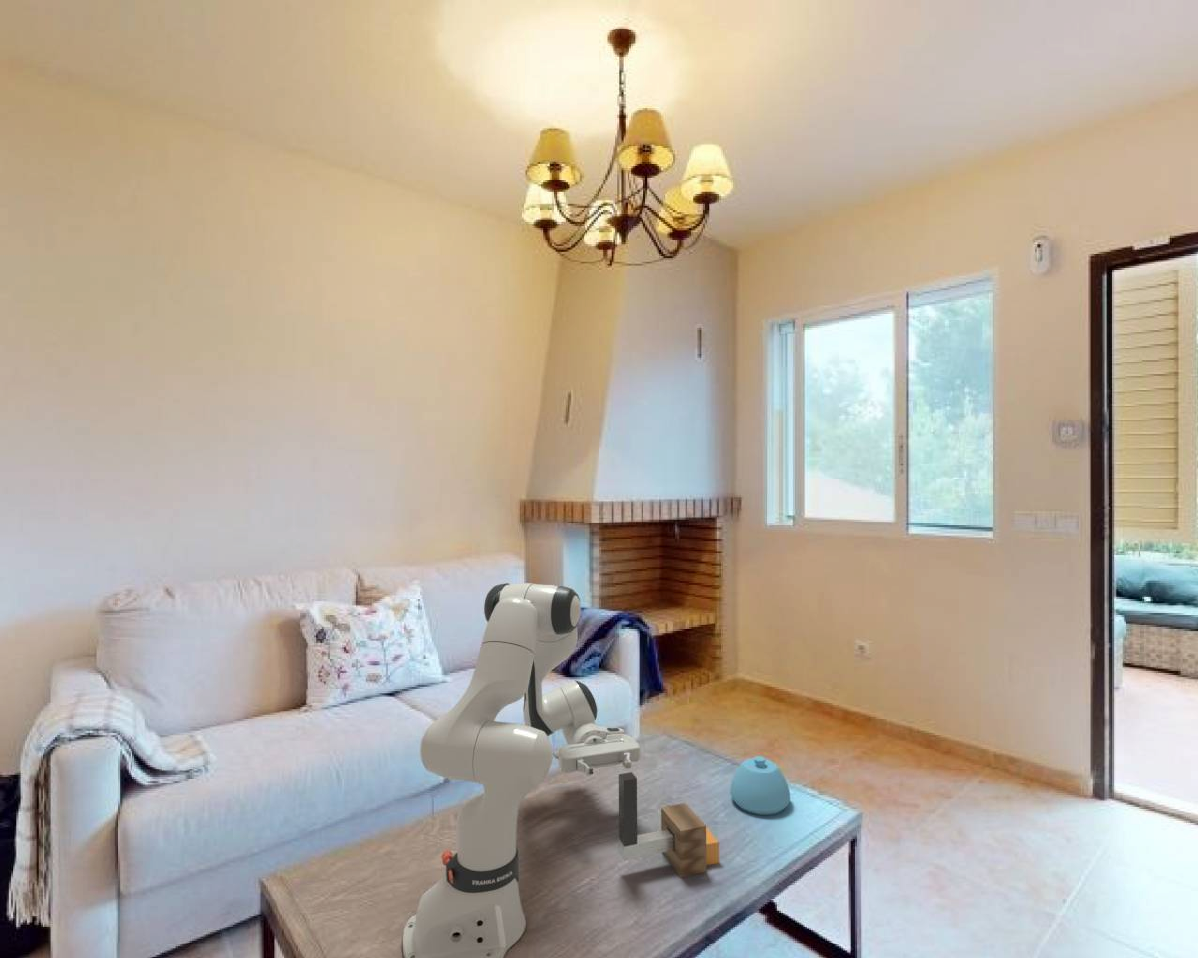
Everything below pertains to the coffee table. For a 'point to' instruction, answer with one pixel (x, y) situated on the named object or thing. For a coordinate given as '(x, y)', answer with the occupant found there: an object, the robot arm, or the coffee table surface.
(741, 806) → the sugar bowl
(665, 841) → the grey l-shaped piece
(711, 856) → the block
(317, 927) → the coffee table surface
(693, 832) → the bearing block
